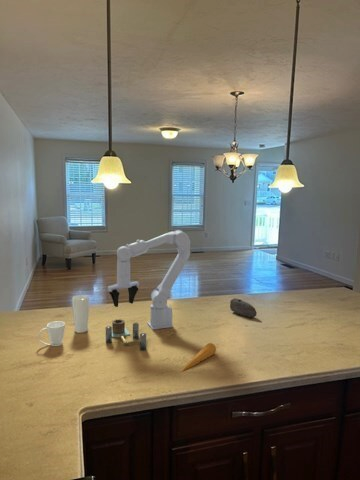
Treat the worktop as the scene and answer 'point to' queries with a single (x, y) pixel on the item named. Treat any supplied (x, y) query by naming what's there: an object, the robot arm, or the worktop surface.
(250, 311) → the perforated stone tool
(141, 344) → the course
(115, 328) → the octagonal hollow tube
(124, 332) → the pad
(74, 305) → the drinking glass
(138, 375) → the worktop surface
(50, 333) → the cup
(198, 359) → the carrot
